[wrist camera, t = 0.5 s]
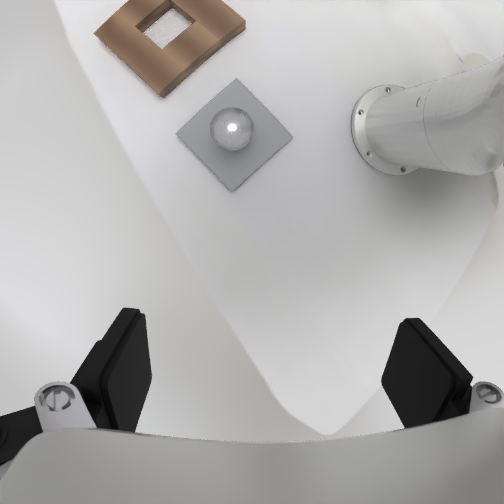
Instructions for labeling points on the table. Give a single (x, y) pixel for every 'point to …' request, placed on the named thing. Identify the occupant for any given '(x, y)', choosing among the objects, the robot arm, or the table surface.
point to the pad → (238, 161)
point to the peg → (231, 128)
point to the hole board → (178, 50)
